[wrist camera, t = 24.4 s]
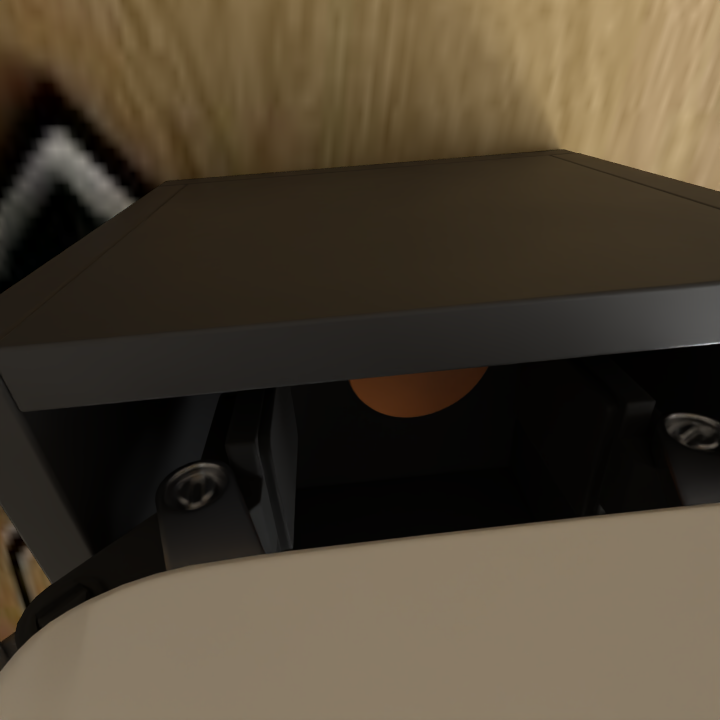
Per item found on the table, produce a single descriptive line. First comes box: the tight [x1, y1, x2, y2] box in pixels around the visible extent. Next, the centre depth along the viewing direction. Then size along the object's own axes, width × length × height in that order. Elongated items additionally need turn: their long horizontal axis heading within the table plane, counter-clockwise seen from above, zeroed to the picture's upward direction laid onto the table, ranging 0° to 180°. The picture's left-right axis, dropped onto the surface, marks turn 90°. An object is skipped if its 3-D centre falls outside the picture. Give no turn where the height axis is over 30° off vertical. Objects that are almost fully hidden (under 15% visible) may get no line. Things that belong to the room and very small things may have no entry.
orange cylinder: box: [348, 366, 488, 417], centre depth 15 cm, size 4×4×5 cm
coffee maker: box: [0, 149, 720, 584], centre depth 15 cm, size 15×14×12 cm
